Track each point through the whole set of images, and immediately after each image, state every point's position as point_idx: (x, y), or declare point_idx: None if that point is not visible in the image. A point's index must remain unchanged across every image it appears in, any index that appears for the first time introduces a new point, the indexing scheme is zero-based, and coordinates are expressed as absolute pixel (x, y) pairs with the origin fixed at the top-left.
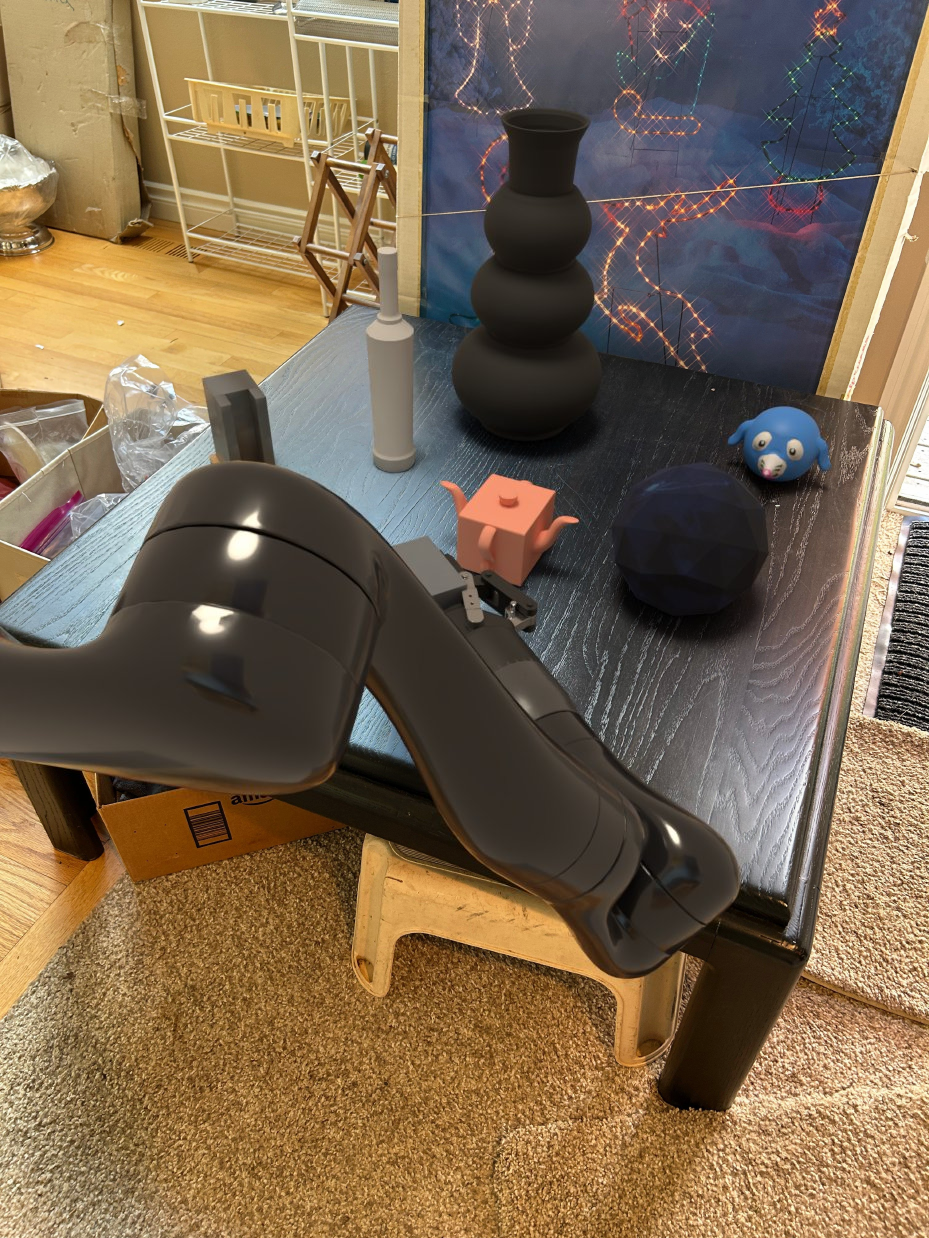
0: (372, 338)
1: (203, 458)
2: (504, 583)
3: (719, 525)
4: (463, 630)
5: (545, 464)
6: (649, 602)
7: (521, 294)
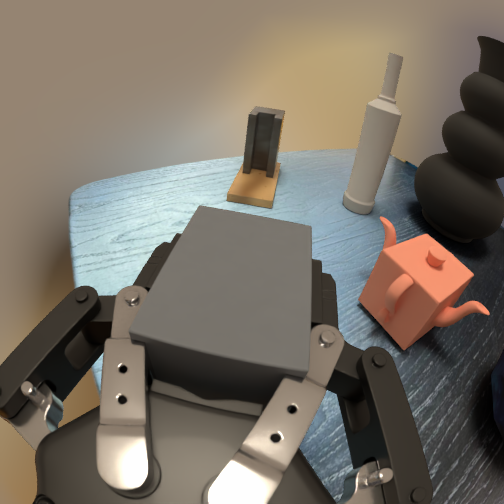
0: (370, 105)
1: None
2: (398, 403)
3: None
4: (188, 493)
5: None
6: (500, 427)
7: (478, 129)
